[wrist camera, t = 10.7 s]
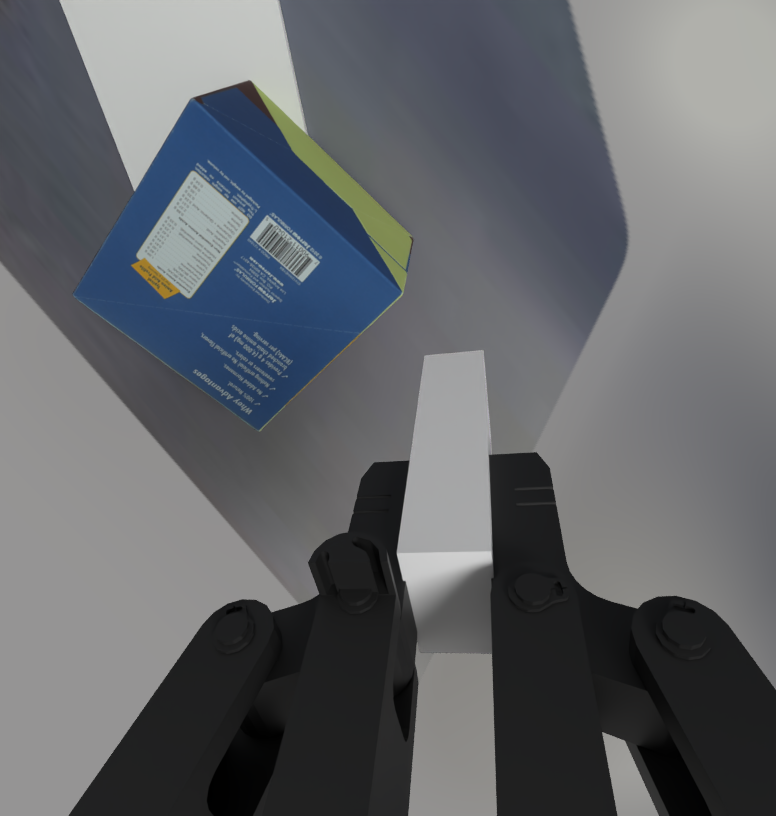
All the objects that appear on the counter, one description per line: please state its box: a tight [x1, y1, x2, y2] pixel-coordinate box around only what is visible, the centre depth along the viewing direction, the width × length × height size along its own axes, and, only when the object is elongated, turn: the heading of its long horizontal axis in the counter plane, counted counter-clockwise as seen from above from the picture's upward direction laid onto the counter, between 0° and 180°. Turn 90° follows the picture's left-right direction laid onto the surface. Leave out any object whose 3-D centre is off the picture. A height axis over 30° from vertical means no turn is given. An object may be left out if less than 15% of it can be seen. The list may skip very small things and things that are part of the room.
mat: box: [60, 0, 308, 191], centre depth 38 cm, size 20×14×1 cm
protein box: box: [72, 80, 413, 432], centre depth 38 cm, size 10×15×16 cm
